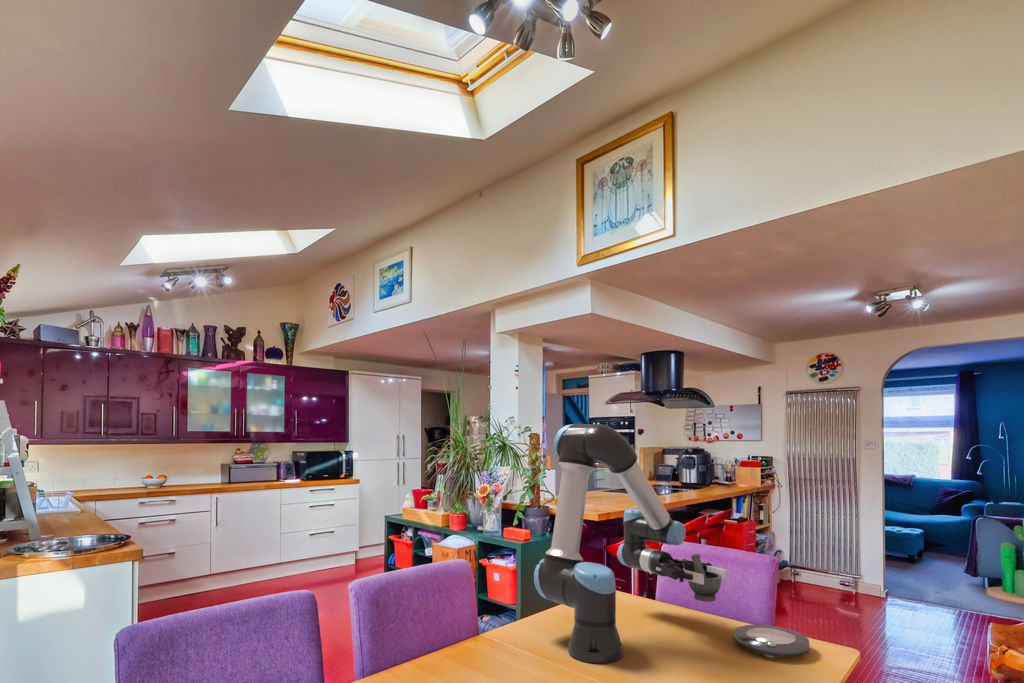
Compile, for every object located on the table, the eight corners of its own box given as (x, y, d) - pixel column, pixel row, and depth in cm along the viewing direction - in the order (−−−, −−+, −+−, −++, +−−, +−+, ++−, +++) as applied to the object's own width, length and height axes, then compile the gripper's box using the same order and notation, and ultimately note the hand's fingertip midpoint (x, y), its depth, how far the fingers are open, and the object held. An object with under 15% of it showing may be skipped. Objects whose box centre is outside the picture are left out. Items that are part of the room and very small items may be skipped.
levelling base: (783, 668, 160) (782, 650, 160) (719, 645, 176) (719, 628, 177) (824, 653, 170) (823, 636, 171) (761, 632, 187) (760, 617, 188)
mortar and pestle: (728, 602, 177) (726, 560, 178) (698, 604, 175) (697, 561, 176) (708, 592, 188) (707, 552, 189) (680, 593, 186) (679, 553, 187)
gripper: (680, 569, 203) (738, 584, 184) (632, 579, 190) (689, 596, 172) (679, 546, 204) (737, 559, 185) (632, 554, 191) (689, 568, 173)
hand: (714, 577), depth 179 cm, fingers closed on mortar and pestle, 10 cm apart
